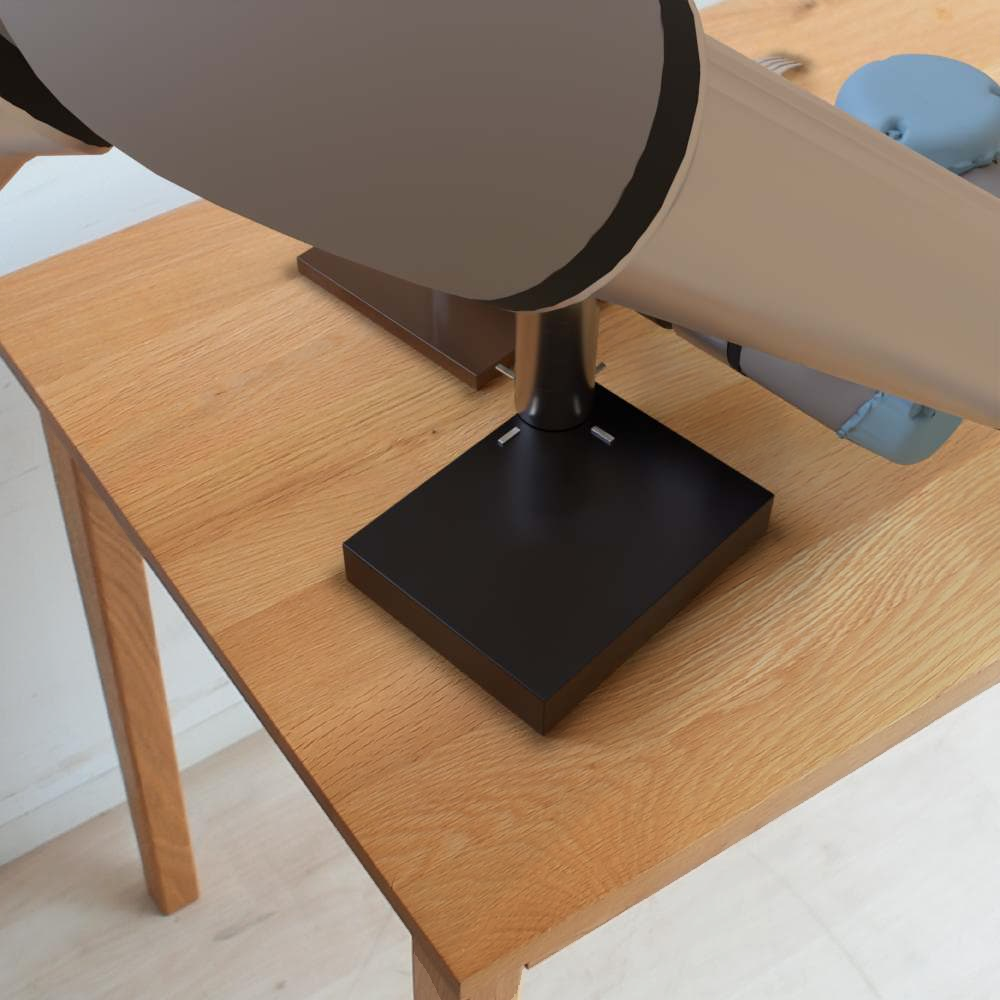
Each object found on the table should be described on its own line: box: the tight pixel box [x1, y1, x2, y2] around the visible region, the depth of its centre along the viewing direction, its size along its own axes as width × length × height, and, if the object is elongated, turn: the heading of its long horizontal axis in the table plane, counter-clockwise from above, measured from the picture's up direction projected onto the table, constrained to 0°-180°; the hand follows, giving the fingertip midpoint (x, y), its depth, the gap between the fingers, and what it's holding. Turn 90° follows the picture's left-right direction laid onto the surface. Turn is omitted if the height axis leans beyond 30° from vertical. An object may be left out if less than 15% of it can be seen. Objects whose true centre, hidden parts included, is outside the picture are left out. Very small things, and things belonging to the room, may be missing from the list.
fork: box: [753, 56, 803, 76], centre depth 103 cm, size 3×21×3 cm, turn 147°
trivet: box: [296, 246, 603, 391], centre depth 92 cm, size 16×16×1 cm
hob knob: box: [513, 296, 602, 430], centre depth 77 cm, size 4×4×9 cm
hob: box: [341, 361, 776, 737], centre depth 77 cm, size 19×17×3 cm
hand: (429, 115), depth 88 cm, fingers open, 13 cm apart
